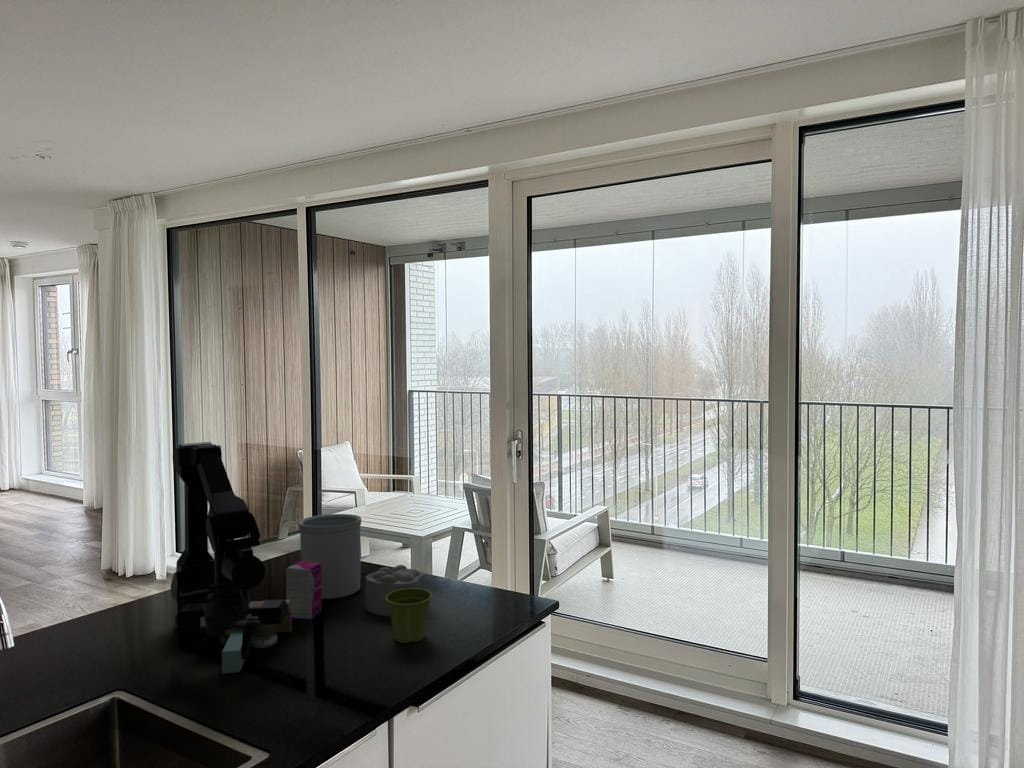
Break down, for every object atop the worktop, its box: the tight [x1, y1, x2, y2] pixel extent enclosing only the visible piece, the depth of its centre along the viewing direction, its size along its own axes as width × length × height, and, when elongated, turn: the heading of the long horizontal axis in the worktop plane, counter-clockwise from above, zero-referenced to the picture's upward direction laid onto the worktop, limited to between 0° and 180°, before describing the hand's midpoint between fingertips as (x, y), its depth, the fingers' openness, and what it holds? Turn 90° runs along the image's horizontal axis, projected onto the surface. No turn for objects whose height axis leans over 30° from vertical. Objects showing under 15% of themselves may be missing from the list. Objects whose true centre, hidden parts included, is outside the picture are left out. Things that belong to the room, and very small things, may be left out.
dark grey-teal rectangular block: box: [221, 625, 251, 675], centre depth 134 cm, size 3×17×4 cm, turn 12°
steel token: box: [250, 632, 278, 648], centre depth 139 cm, size 5×5×2 cm
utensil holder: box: [298, 513, 362, 600], centre depth 171 cm, size 15×15×18 cm
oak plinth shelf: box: [226, 599, 293, 636], centre depth 140 cm, size 15×9×6 cm, turn 95°
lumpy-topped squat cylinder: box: [365, 564, 426, 617], centre depth 158 cm, size 10×13×9 cm
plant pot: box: [385, 588, 433, 644], centre depth 141 cm, size 9×9×9 cm
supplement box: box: [285, 560, 323, 622], centre depth 153 cm, size 6×6×12 cm
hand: (234, 659), depth 128 cm, fingers closed on dark grey-teal rectangular block, 3 cm apart
